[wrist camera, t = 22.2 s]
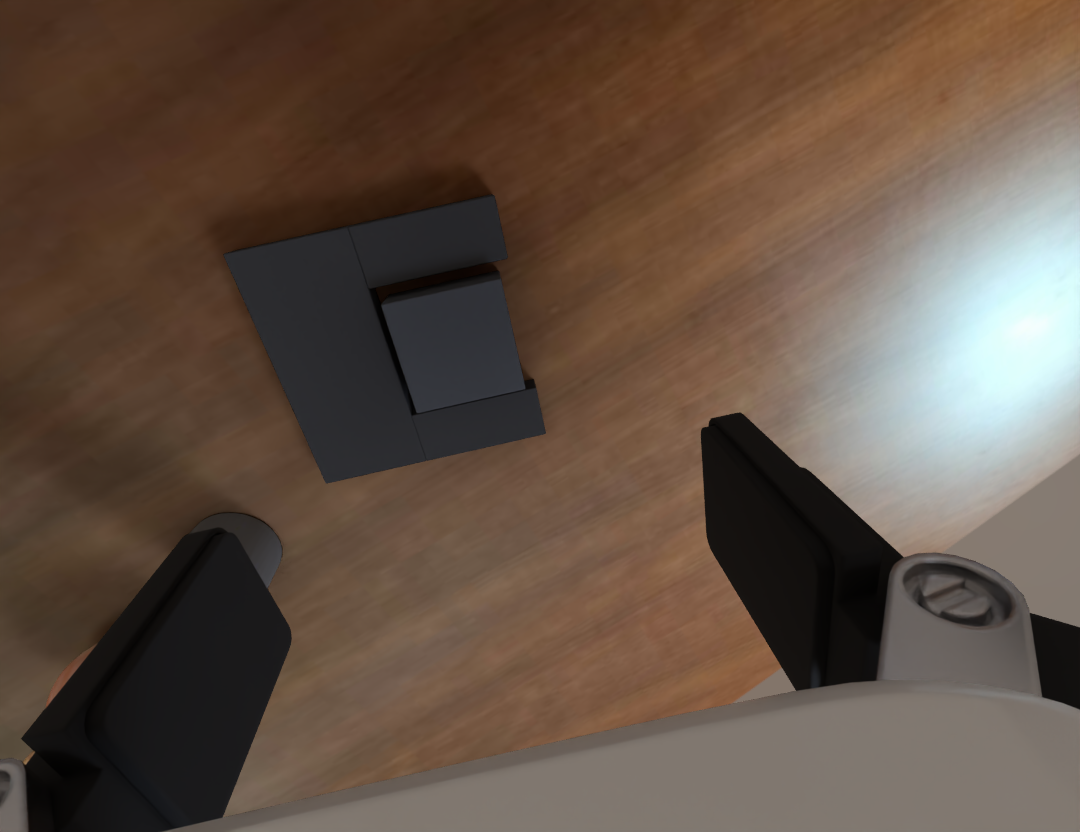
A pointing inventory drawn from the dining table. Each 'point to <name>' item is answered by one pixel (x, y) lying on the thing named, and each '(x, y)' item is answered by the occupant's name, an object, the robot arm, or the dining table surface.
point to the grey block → (454, 341)
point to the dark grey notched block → (372, 337)
